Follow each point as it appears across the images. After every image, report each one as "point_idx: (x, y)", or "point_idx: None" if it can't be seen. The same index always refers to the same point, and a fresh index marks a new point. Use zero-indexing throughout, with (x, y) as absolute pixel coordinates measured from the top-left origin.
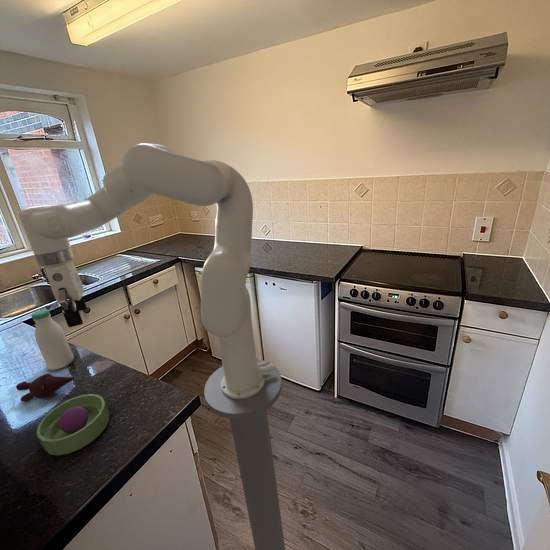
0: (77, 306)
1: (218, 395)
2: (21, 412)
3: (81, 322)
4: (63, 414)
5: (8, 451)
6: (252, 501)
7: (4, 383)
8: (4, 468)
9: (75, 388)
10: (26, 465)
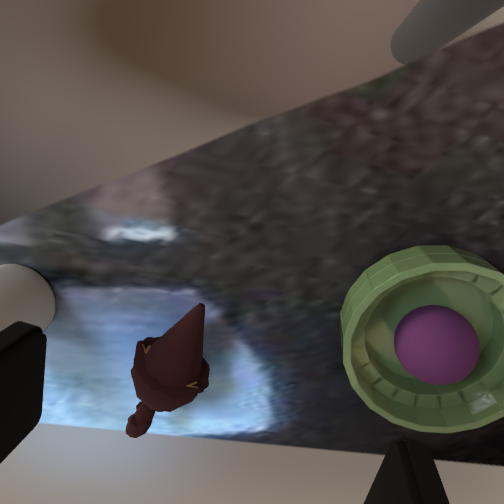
0: (4, 422)
1: None
2: (209, 409)
3: (424, 458)
4: (440, 380)
5: (346, 445)
6: (498, 9)
7: None
8: None
9: (205, 291)
10: None
